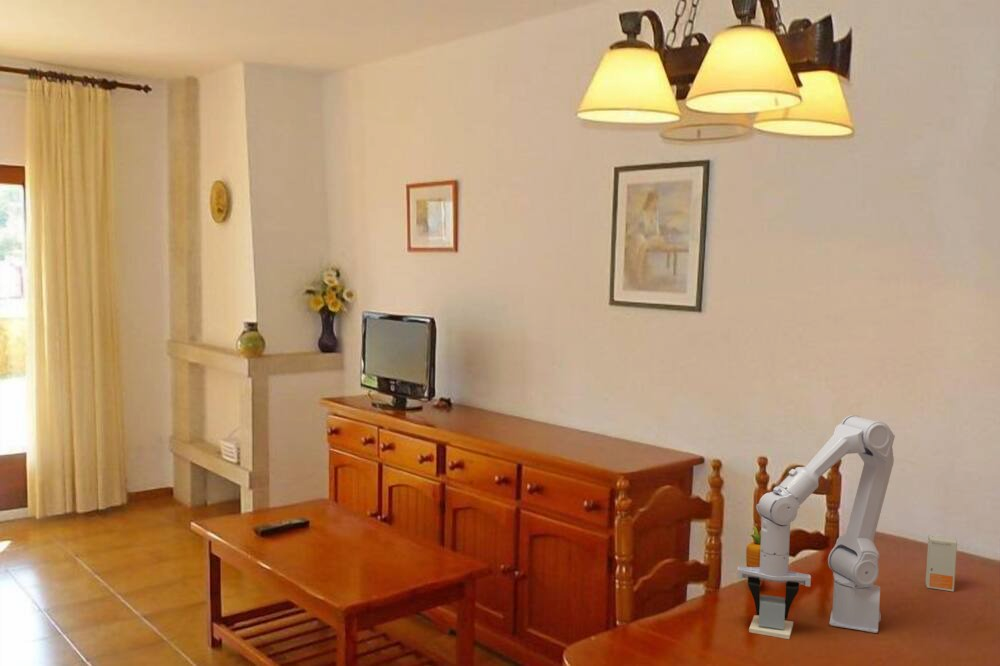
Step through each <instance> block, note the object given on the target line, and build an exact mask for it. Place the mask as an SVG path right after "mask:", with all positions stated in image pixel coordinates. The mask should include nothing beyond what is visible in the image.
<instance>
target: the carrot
mask: <svg viewBox="0 0 1000 666" xmlns="http://www.w3.org/2000/svg"><path fill="white" fill-rule="evenodd" d="M752 530H753V532H754V533H750V534H749V535H750V537H752V539H753V541H752V542H750V543H748V544H747V546H746V549H745V551H746V552H745V553H746V554H745V555H746V556H745V561H746V563H745V564H746V567H760V546H761V529H760V530H759V532H758V528H757V527H756V526H753V527H752ZM763 582H764V580H760V587H761V586H762V584H763Z"/></svg>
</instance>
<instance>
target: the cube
mask: <svg viewBox="0 0 1000 666" xmlns="http://www.w3.org/2000/svg"><path fill="white" fill-rule="evenodd" d="M758 616H759V626H763V627H770V628H777V629H784V620H785V597H783V596H776V595H767V594H761V593H760V610H759V615H758Z"/></svg>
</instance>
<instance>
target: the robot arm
mask: <svg viewBox="0 0 1000 666" xmlns="http://www.w3.org/2000/svg"><path fill="white" fill-rule="evenodd" d="M895 438H896V437H895V434H894V432H893V431H892V430H891V428H890V427H889V426H888V424H887V423H886V422H884V421H880V420H879V421H877V420H873V419H869V418H864V417H861V416H859V415H855V414H851V415H848V416H845V418H843V420H842V421H841V423H838V425H836V426H835V428H834V432H833V434H832V435H831V436H830V438H829V439H828V440H827V441H826V443H825V444H824V445H823V446H822V447H821V448H820V449H819V451H817V453H816V454H815V455H814V456H813V457H812V458H811V460H809V462H808V463H807V465H805V466H798V467H795V469H794V468H792V469H790V470H789V471H788V475H787V476H786V477H785V478H784V479H783V481H781V483H780V484H778V485H776V486H774V488H773V491H770V492H766V493H765V494H762V496H761V497H760V499H759V501H758V503H757V504H756V506H755V508H756V512H757V514H758V515H759V516H760V524H761V527H760V528H761V529H760V530H761V546H760V567H747V566H737V573H736V574H737V577H736V578H737V579H740V580H743V579H747V586H748V588H749V590H750V593H751V596H752V598H753V601H754V606H755V611H756V613H755V615H756V616H759V610H760V594H761V592H760V590H761V586H760V580H763V581H767V582H776V583H784V584H785V597H784V598H785V619H786V620H787V619H788V617H789V612H790V608H791V606H792V604H793V602H794V600H795V598H796V596H797V594H798V593H799V591H800V590H799V589H800V586H801V585H803V586H805V587H809V588H810V587H811V581H812V576H811V574H808V573H802V572H797V571H792V570H789V567H790V564H789V563H790V536H791V523H792V522H794V521H795V520H796V518H797V516H798V510H799V509H800V506H801V505H802V504H803V503H804V502H805V501H806V500H807V499H808V498H809V497H810V496H812V494H813V493H814V492H815V490H817V489H818V488H819V480H820V478H821V477H822V476H823V475H824V474H825V473H827V472H828V471H829V469H831V468H832V467H833V466H835V464H837V463H838V462H839V461H840V460H841V459H842V458H844V457H845V456H846V455H848V454H849V455H851V454H858V456H859V457H860V459H861V460H862V462H863V466H862V470H861V475H860V478H859V481H858V485H857V490H856V493H855V498H854V501H853V504H852V509H851V513H850V516H849V521H848V524H847V528H846V532H845V534H842V535H841V536H839V537H837V539H836V541H835V545H834V546H833V548H832V549H831V550H830V552H829V554H828V557H827V564H828V567H829V569H830V570H831V571H832V572H833V573H832V577H833V579H834V580H833V593H832V594H833V597H832V599H833V600H832V610H831V611H830V616H829V617H830V619H829V625H830V626H831V627H838V628H845V629H850V630H854V631H855V630H856V631H862V632H868V633H875V634H877V633H879V623H880V622H881V617H882V616H881V615H882V614H881V612H880V602H881V601H880V600H881V599H880V598H881V586H880V585H876V584H874V583H875V582H876V581H877V579H878V577H879V573H880V569H879V558H880V552H879V551H878V549H877V547H876V545H875V543H874V540H875V539H874V538H875V535H876V532H877V528H878V524H879V520H880V516H881V513H882V508H883V505H884V500H885V497H886V494H887V489H888V485H889V482H890V478H891V476H892V470H893V466H894V461H895V460H894V459H895V458H894V452H893V450H894V449H893V444H894V441H895Z"/></svg>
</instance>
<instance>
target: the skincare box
mask: <svg viewBox="0 0 1000 666" xmlns="http://www.w3.org/2000/svg"><path fill="white" fill-rule="evenodd" d="M927 537H928V539H927V540H928V541H927V543H928V544H927V554H926V570H925V585H926V588H927V589H935V590H941V591H947V592H952V593H953V592H955V580H956V567H957V553H958V551H957V550H958V542H957V538H955V537H954V538H953V537H946V536H941V535H940V536H938V535H937V536H936V535H928V536H927Z"/></svg>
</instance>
